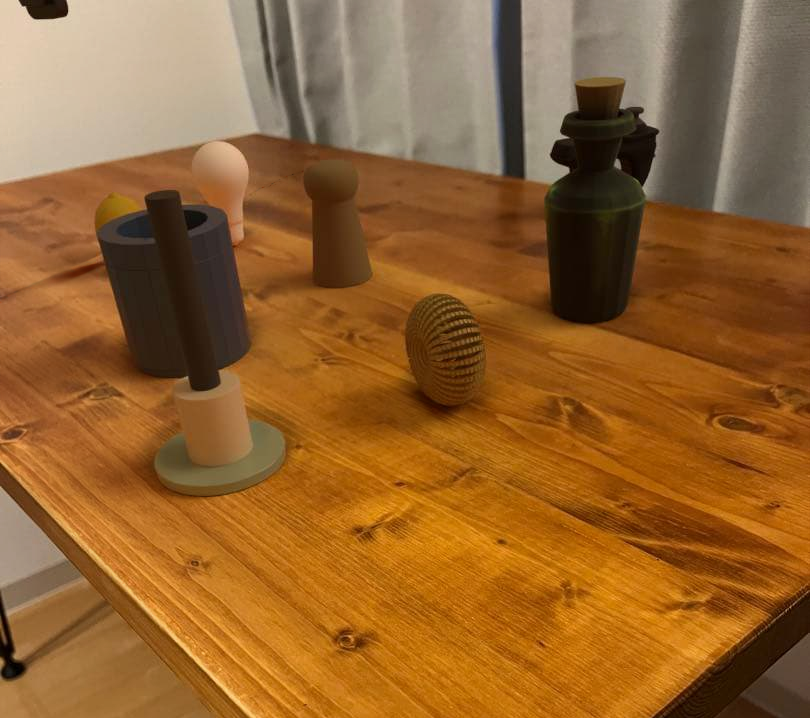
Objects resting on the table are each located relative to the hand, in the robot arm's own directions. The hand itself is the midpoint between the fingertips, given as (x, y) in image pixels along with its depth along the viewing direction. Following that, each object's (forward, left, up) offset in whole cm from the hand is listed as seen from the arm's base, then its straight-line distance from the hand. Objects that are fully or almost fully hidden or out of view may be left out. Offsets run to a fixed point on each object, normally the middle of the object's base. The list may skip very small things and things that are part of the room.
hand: (115, 6), depth 45 cm
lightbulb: (-31, +37, -27) cm, 55 cm away
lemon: (-37, +27, -27) cm, 53 cm away
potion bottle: (+13, +34, -27) cm, 46 cm away
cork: (-13, +33, -27) cm, 45 cm away
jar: (-15, +13, -27) cm, 34 cm away
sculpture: (+10, +14, -27) cm, 32 cm away
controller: (+3, +62, -27) cm, 68 cm away
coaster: (0, 0, -27) cm, 27 cm away
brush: (0, 0, -26) cm, 26 cm away
